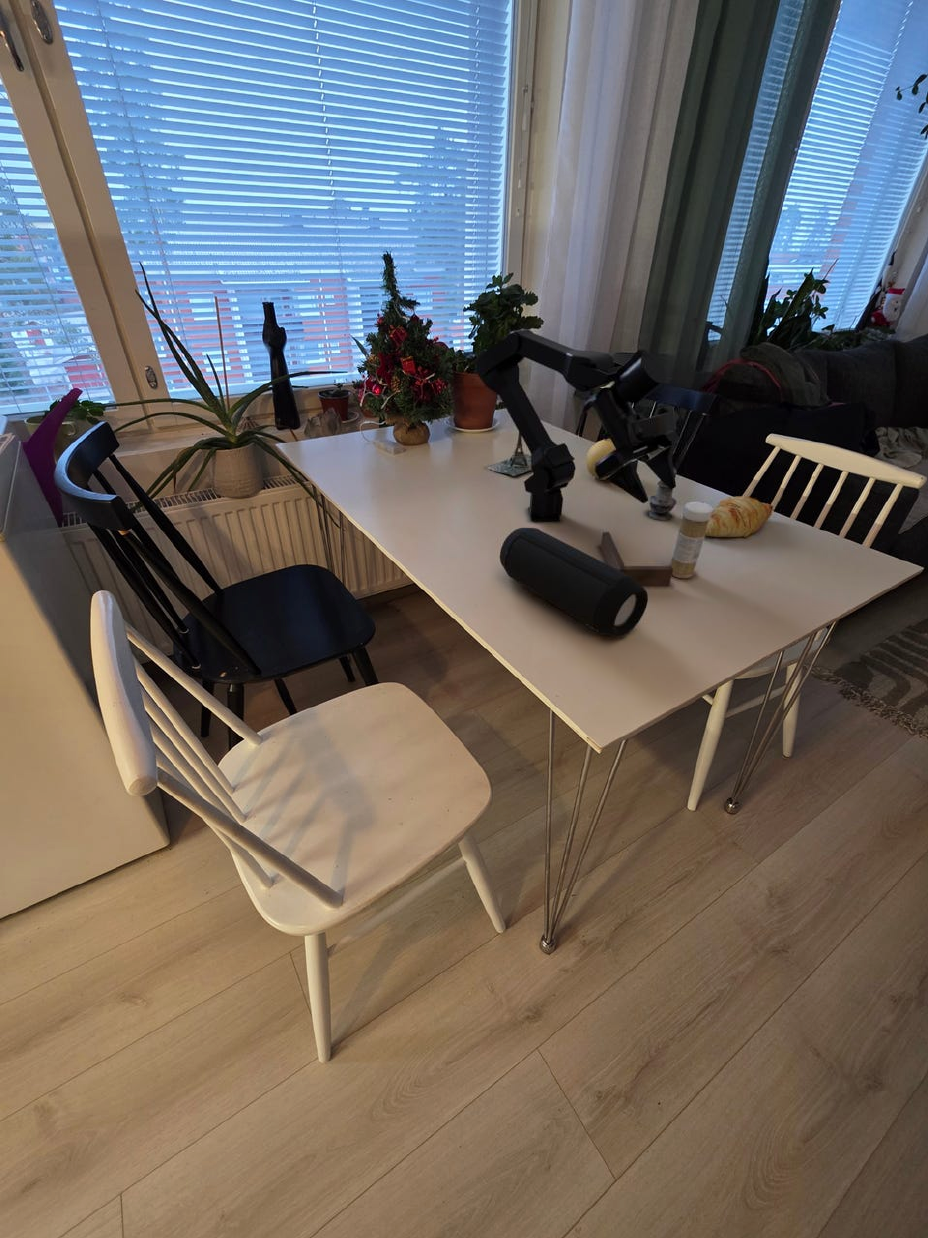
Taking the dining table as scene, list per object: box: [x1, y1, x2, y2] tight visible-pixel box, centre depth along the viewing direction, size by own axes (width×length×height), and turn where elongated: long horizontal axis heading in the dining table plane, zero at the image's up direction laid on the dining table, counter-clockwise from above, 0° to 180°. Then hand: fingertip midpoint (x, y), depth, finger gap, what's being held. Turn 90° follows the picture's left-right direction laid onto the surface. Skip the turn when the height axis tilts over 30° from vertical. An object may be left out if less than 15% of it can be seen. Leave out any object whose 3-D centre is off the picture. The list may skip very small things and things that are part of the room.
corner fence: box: [599, 531, 673, 587], centre depth 99 cm, size 9×14×4 cm, turn 0°
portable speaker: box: [499, 527, 649, 638], centre depth 87 cm, size 26×10×10 cm, turn 38°
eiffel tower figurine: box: [486, 432, 532, 477], centre depth 139 cm, size 15×10×13 cm
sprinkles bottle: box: [669, 501, 714, 579], centre depth 94 cm, size 5×5×14 cm
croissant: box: [705, 495, 774, 538], centre depth 111 cm, size 21×10×8 cm, turn 119°
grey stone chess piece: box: [646, 466, 678, 521], centre depth 115 cm, size 6×6×12 cm
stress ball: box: [585, 438, 616, 481], centre depth 133 cm, size 10×10×10 cm
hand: (660, 494), depth 95 cm, fingers open, 9 cm apart
